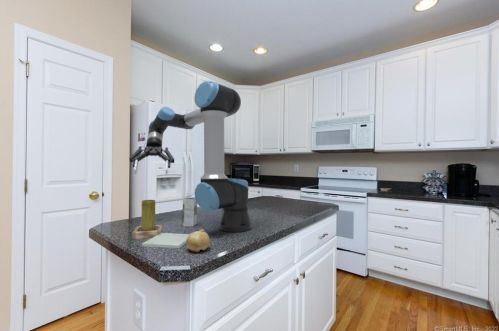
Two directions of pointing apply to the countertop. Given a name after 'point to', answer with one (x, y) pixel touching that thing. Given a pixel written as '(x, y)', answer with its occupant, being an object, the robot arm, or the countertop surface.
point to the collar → (146, 232)
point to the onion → (198, 241)
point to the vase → (148, 216)
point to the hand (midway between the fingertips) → (151, 171)
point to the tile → (167, 240)
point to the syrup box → (189, 211)
